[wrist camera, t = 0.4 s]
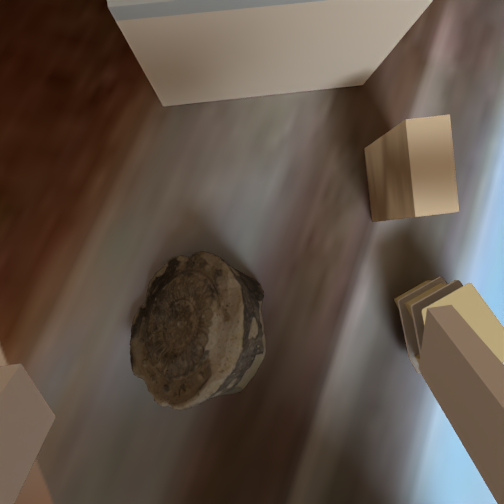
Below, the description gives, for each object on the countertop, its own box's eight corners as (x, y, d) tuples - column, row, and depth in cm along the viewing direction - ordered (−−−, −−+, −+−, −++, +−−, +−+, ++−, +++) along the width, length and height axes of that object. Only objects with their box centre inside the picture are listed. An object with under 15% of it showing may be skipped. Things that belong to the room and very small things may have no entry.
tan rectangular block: (405, 217, 29) (459, 211, 22) (372, 222, 29) (415, 216, 22) (398, 144, 29) (449, 114, 22) (364, 148, 29) (405, 119, 22)
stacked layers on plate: (348, 297, 29) (374, 311, 24) (441, 244, 30) (488, 246, 24) (403, 399, 30) (441, 435, 25) (494, 347, 30) (552, 371, 25)
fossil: (136, 243, 28) (179, 250, 19) (239, 253, 32) (311, 262, 24) (122, 382, 28) (158, 452, 19) (227, 372, 32) (294, 424, 24)
